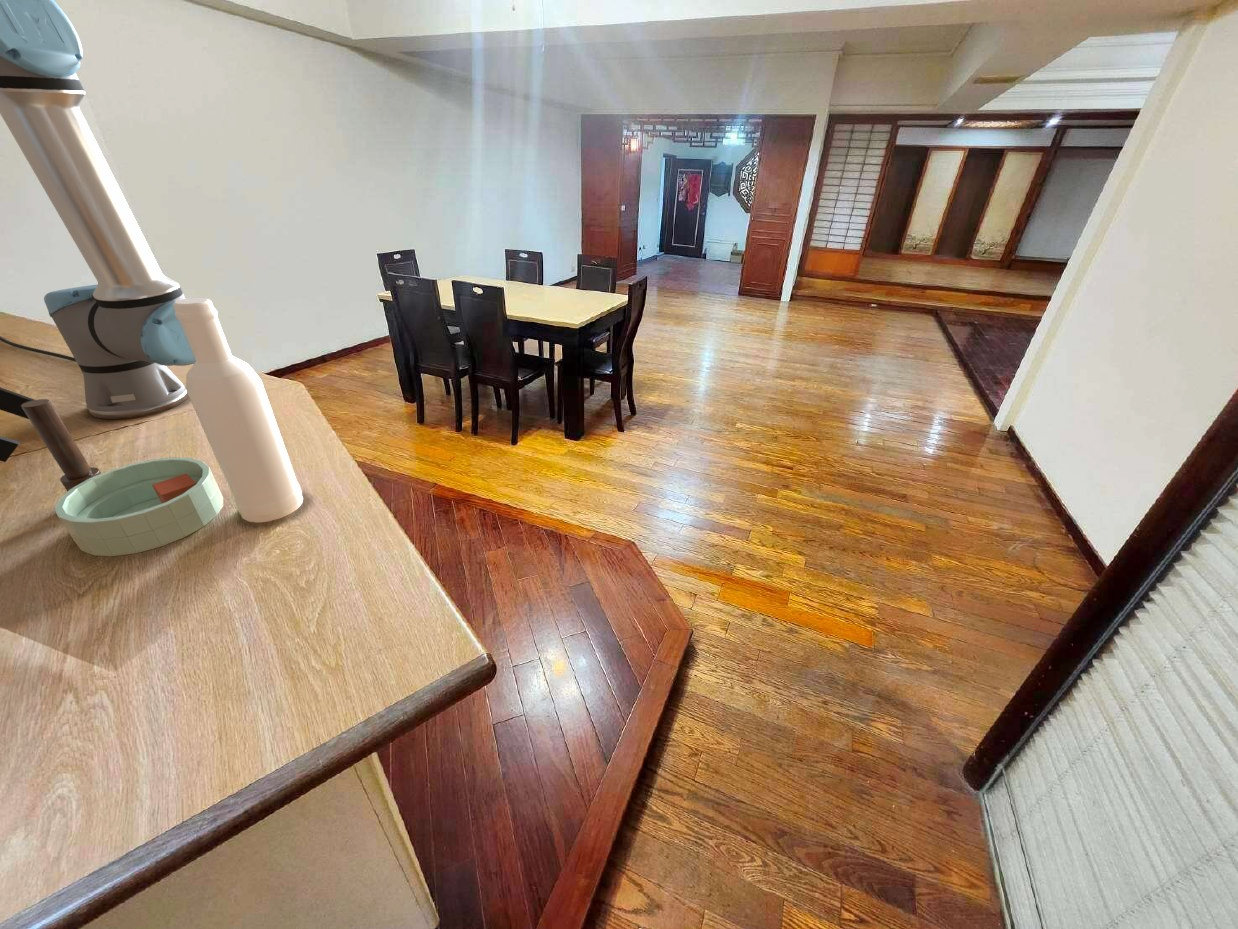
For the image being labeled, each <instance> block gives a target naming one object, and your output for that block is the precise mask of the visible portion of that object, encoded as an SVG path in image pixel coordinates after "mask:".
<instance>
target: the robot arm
mask: <svg viewBox="0 0 1238 929" xmlns="http://www.w3.org/2000/svg"><path fill="white" fill-rule="evenodd" d="M83 54H84V52H83V46H82V42H81V39H80V37H79V34H78V32H77V31H76V29H75V26H74V25H73V23H72V21H71V20H70V19H69V17H68V16H67V14H66V13H65V12H64V11H63V9H62V8H61V7H60V6H59V5H58V3H57V2H56V1H55V0H0V116H1V118H2V120H3V121H4V123H5V125H6V127H7V128H8V130H9V132H10V133H11V135H12V137H13V138H14V140H15V141H16V144H17V146H18V147H19V149H20V150H21V152H22V154H23V156H24V157H25V159H26V161H27V163H28V165H29V166H30V168H31V170H32V171H33V174H35V176H36V178H37V180H38V181H39V184H40V185H41V186H42V188H43V190H44V192H45V194H46V195H47V197H48V199H49V200H50V202H51V204H52V206H53V208H54V210H55V211H56V212H57V215H58V216H59V218H60V219H61V221H62V223H63V224H64V226H65V228H66V230H67V232H68V233H69V235H70V236H71V239H72V240H73V242H74V243H75V245H76V247H77V249H78V250H79V252H80V254H81V255H82V257H83V259H84V261H85V262H86V264H87V266H88V268H89V269H90V271H91V273H92V275H93V276H94V277H95V280H96V282H97V284H90V285H83V286H77V287H70V288H64V289H58V290H53V291H50V292H47V293H46V294H44V297H43V301H44V304H45V306H46V309H47V312H48V315H49V317H50V318H52V321H53V322H54V324H55V326H56V328H57V330H58V331H59V333H60V334H61V336H62V338H63V340H64V342H65V343H66V346H67V347H68V349H69V351H70V353H71V355H72V356H70V355H66V354H61V353H57V352H53V351H48V350H44V349H39V348H34V347H30V346H26V345H22V344H19V343H15V342H13V341H10V340H8V339H7V338H4V337H3V336H1V335H0V341H1V342H2V343H3V344H7V345H10V346H12V347H15V348H19V349H22V350H24V351H30V352H34V353H37V354H42V355H46V356H51V357H56V358H59V359H65V360H67V361H71V362H75V363H77V365H78V367H79V368H80V370H81V372H82V376H83V384H84V395H85V397H84V398H85V404H86V407H87V410H88V411H89V413H90V415H91V416H92V417H94V418H98V419H104V420H105V419H106V420H122V419H130V418H131V419H132V418H138V417H139V418H140V417H144V416H149V415H152V414H158V413H160V412H164V411H167V410H170V409H173V408H175V407H177V406H179V405H181V404H182V403H184V402H185V401H186V400H188V398H189V396H188V393H187V391H186V385H184V383H183V382H182V381H181V380H180V379H179V378H178V376H176V375H175V373H173V371H172V370H171V369H170V368H169V367H171V366H177V367H178V366H179V367H186V366H190V365H194V363H195V362H196V359H195V357H194V354H193V352H192V350H191V347H190V345H189V342H188V340H187V337H186V335H185V333H184V330H183V328H182V325H181V323H180V321H179V320H178V319H177V317H176V315H175V309H174V306H173V304H174V302H175V301H177V300H181V299H187V297H186V296H185V294H184V292H183V290H182V288H181V285H180V283H179V282H178V281H176V280H174V279H172V278H170V277H168V276H166V275H164V273H163V272H162V270H161V268H160V266H159V264H158V262H157V260H156V258H155V256H154V254H153V252H152V250H151V248H150V246H149V244H148V241H147V240H146V238H145V236H144V234H143V232H142V231H141V228H140V226H139V224H138V222H137V220H136V218H135V216H134V214H133V212H132V210H131V207H130V206H129V204H128V201H127V200H126V198H125V196H124V194H123V192H122V190H121V189H120V186H119V183H118V182H117V180H116V178H115V176H114V174H113V172H112V170H111V168H110V166H109V164H108V161H107V160H106V158H105V156H104V155H103V152H102V150H101V148H100V146H99V144H98V143H97V142H98V141H97V140H96V139H95V136H94V134H93V132H92V131H91V129H90V126H89V125H88V122H87V120H86V119H85V116H84V114H83V112H82V111H81V104H82V102H83V100H84V98H85V96H86V94H87V93H86V91H85V88H84V87H83V85H82V83H81V81H80V79H79V76H78V74H77V71H78V70H79V69H80V68H81V65H82V64H81V60H82V59H83V57H84V55H83ZM33 400H35V399H34V398H32V397H30V396H25V395H23V394H20V393H17V392H15V391H12V390H9V389H7V388H5V387H4V388H3V387H0V411H3V412H6V413H8V414H12V415H15V416H18V417H21V418H22V419H23V418H24V419H27V420H29V421H30V419H29V418H28V416H27V415H26V413H25V412H24V410H23V409H22V407H21V405H22V404H24V403H26V402H29V401H33ZM20 444H21V441H19V440H18V441H17V440H16V439H15V440H14V439H11V438H8V437H4V436H1V435H0V462H2V463H6V462H7V461H8V459H9V458H10V457H11V456H12V454H13V453H14V451H15V450H16V449H17V447H18V446H19V445H20Z"/></svg>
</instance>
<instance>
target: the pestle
mask: <svg viewBox="0 0 1238 929" xmlns="http://www.w3.org/2000/svg"><path fill="white" fill-rule="evenodd" d="M21 407H22V409H23V410H24V412H25V413H26V415H27V416H28V418H29V419H30V420H29V419H28V420H29V421H30V423H31V424H32V426H33V427H34V429H35V430H36V432H37V433H38V435H39V437H40V438H41V440H42V441H43V444H44V445H45V446H46V448H47V450H49V452H50V454H51V455H52V457H53V459H54V460H55V462H56V463H57V465H58V466H59V468H60V470H61V471H62V472H63V474H64V475H61V477H60V479H59V481H60V482H61V484H62V486H63V487H64V489H65V491H66V493H67V492H68V491H69V490H70V489H71V488H73V487H75V486H77V485H79V484H80V483H82V482H84V481H86V480H87V479H89V478H92V477H94V476H97V475H99V474H102V472H101V471H100V469H99V468H98V467H94V466H93V467H92V466H90V465H89V463H88V462H87V460H86V458H85V457H84V455H83V453H82V451H81V450H80V448H79V447H78V445H77V443H76V441H75V440H74V438H73V437H72V435H71V433H70V432H69V430H68V428H67V427H66V425H65V423H64V421H63V420H62V419H61V417H60V415H59V413H58V412H57V410H56V409H55V407H54V405H53V403H52V402H51V400H50V399H48V398H40V399H34V400H33V401H29V402H26V403H24V404H22V405H21Z"/></svg>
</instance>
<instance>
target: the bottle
mask: <svg viewBox="0 0 1238 929" xmlns="http://www.w3.org/2000/svg"><path fill="white" fill-rule="evenodd" d="M173 306H174V309H175V315H176V317H177V319H178V320H179V321H180V323H181V325H182V328H183V330H184V333H185V335H186V337H187V340H188V342H189V345H190V347H191V350H192V352H193V354H194V357H195V359H196V362H195V363H194V364H192V366H191V368H190V369H189V370H188V371H187V373H186V374H185V376H186V377H185V387H186V391H187V393H188V398H189V400H190V402H191V404H192V407H193V409H194V411H195V413H196V416H197V418H198V420H199V423H200V425H201V428H202V429H203V432H204V434H205V437H206V439H207V440H208V443H209V445H210V448H211V450H212V452H213V455H214V457H215V459H216V461H217V463H218V466H219V469H220V471H221V473H222V475H223V477H224V479H225V482H226V483H227V487H228V489H229V491H230V493H231V495H232V497H233V502H234V504H235V507H236V509H237V511H238V512H239V515H240V516H241V517H242V519H243V520H245V521H247V522H250V523H266V522H267V523H268V522H272V521H276V520H279V519H282V518H284V517H287V516H288V515H292V513H294V512H295V511H297V510H298V509H299V508H300V507H301V506H302V505H303V502H304V497H303V491H302V488H301V486H300V483H299V482H298V480H297V477H296V474H295V471H294V468H293V465H292V463H291V460H290V457H289V454H288V452H287V451H288V450H287V449H286V446H285V443H284V440H283V437H282V435H281V432H280V428H279V426H278V423H277V420H276V418H275V415H274V411H273V409H272V406H271V404H270V400H269V398H268V395H267V392H266V389H265V387H264V383H263V380H262V379H261V378H260V376H259V375H258V374H257V372H256V371H255V370H254V369H253V367H251V365H250V364H249V363H248V362H246V361H244V360H242V359H241V358H238V357H236V356H234V355H232V352H231V348H230V347H229V344H228V341H227V338H226V335H225V333H224V331H223V327H222V324H221V323H220V320H219V317H218V316H219V315H218V314H219V313H218V310H217V309H216V308H215V307H214V303H213V302H212V300H211V299H209V298H206V297H188V298H187V297H186V299H181V300H177V301H175V302H174V304H173Z"/></svg>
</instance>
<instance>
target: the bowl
mask: <svg viewBox="0 0 1238 929" xmlns="http://www.w3.org/2000/svg"><path fill="white" fill-rule="evenodd" d="M183 474H187V475H188V476H189V477H191V478H192V479H193V480H194V481H195V482H196V483H197V484H196V485H194V486H193V487H192V488H190V489H189V490H187V491H186V492H185V493H183V494H182V495H179V496H177V497H175V498H173V499H171V500H169V501H167V502H165V503H161V501H160V499H159V497H158V495H157V493H156V492H155V490H154V488H153V486H152V485H153V484H156V483H159V482H162V481H165V480H168V479H171V478H174V477H177V476H180V475H183ZM223 507H224V496H223V494H222V492H221V489H220V487H219V485H218V482H217V481H216V479H215V477H214V474H213V472H212V470H211V467H210V466H208V464H207V463H206V462H204V461H203V460H201V459H200V460H199V459H197V458H192V457H178V456H177V457H176V456H174V457H173V456H172V457H162V458H153V459H147V460H142V461H138V462H133V463H129V464H126V465H123V466H119V467H116V468H113V469H110V470H107V471H104V472H101V474H99V475H97V476H94V477H92V478H89V479H87V480H86V481H84V482H82V483H80V484H79V485H77V486H75V487H73V488H71V489H70V490H69V491H68V492H67V491H66V492H65V493H64V494H63V495H61V497H60V498H59V499H57V501H56V503H55V506H54V508H53V510H54V512H55V514H56V516H57V518H58V519H59V521H60V522H61V523H62V525H63V527H64V528H65V529H66V531H67V532H68V534H69V535H70V537H71V538H72V540H73V541H74V542H75V544H76V545H77V547H78V548H79V550H80V551H81V552H84V553H86V554H88V555H91V556H96V557H97V556H98V557H118V556H125V555H133V554H139V553H143V552H146V551H147V552H148V551H150V550H154V549H158V548H161V547H164V546H167V545H169V544H171V543H173V542H177V541H179V540H182V539H184V538H186V537H188V536H190V535H191V534H193V533H195V532H197V531H198V530H200V529H202V528H204V527H206V525H207V524H209V523H210V522H211V521H213V520H214V519H215V518H216V517H217V516H218V515H219V514H220V512H221V510H222V509H223Z"/></svg>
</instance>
